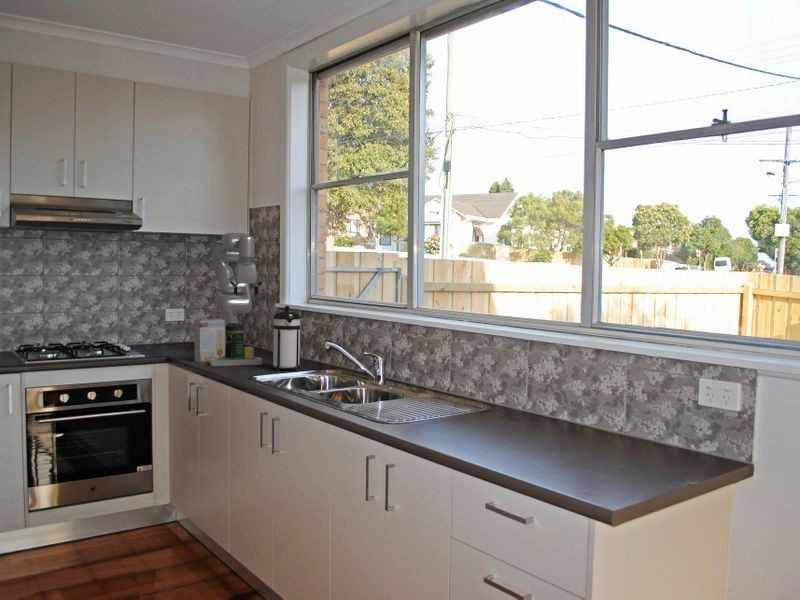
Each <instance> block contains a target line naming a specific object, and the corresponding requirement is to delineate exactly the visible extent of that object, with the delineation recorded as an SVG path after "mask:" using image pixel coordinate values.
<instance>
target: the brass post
mask: <svg viewBox="0 0 800 600" xmlns="http://www.w3.org/2000/svg"><path fill="white" fill-rule="evenodd" d="M243 348H244V359H254V357H255V355H254V349H255V348H254V347H253V346H243Z"/></svg>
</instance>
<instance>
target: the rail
mask: <svg viewBox="0 0 800 600" xmlns="http://www.w3.org/2000/svg"><path fill="white" fill-rule="evenodd" d="M209 365H210V366H211V367H219V366H220V367H221V366H253V365H254V366H257V365H263V358H262V357H260V356H257V357H256V356H254V359H244V357H240V358H210V362H209Z"/></svg>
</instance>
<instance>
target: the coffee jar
mask: <svg viewBox="0 0 800 600" xmlns="http://www.w3.org/2000/svg"><path fill="white" fill-rule="evenodd" d="M225 331H226V351H225V358H240V357H244V333H245V326H244V325H243V324H242V323H238V324H237V323H229V324H227V325H226V329H225Z"/></svg>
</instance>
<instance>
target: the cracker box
mask: <svg viewBox="0 0 800 600" xmlns="http://www.w3.org/2000/svg"><path fill="white" fill-rule="evenodd" d="M193 323H194V325H193V326H194V330H193V331H194V362H196V363H207V362H208V363H210V358H225V320H222V319H220V318H217V319H196V320H194V322H193Z"/></svg>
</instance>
